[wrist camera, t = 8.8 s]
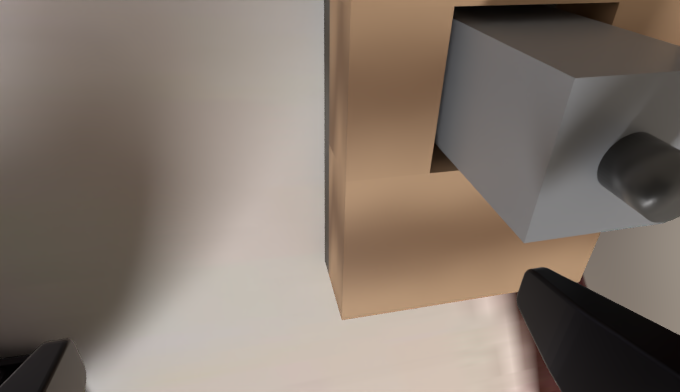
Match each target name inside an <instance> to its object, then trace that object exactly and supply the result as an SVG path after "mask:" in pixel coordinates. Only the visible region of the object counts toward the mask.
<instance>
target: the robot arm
mask: <svg viewBox="0 0 680 392" xmlns="http://www.w3.org/2000/svg"><path fill="white" fill-rule="evenodd" d="M517 305H518V308H519V310H520V312H521V314H522V316H523V318H524V320H525V322H526V325H527V327H528V329H529V331H530V333H531V335H532V337H533V339H534V341H535V343H536V345H537V347H538V349H539V351H540V354H541V356H542V358H543V360H544V362H545V364H546V366H547V367H548V369H549V371H550V373H551V375H552V376H553V378H554V380H555V382H556V383H557V385H558V387H559V388H560V390H561V391H562V392H680V335H678V334H676V333H674V332H672V331H670V330H668V329H666V328H664V327H662V326H661V325H659V324H657V323H654V322H653V321H651V320H649V319H646V318H645V317H643V316H641V315H639V314H637V313H635V312H633V311H631V310H629V309H627V308H625V307H623V306H621V305H619V304H617V303H615V302H613V301H611V300H609V299H607V298H605V297H603V296H602V295H599V294H598V293H596V292H593V291H592V290H590V289H588V288H586V287H584V286H582V285H580V284H578V283H576V282H574V281H572V280H570V279H568V278H566V277H564V276H562V275H560V274H558V273H556V272H554V271H553V270H551V269H548V268H546V267H539V268H533V269H528V270H527V271H526V272H525V273H524V276H523V279H522V282H521V285H520V288H519V291H518V294H517ZM85 385H86V370H85V366H84V364H83V361H82V359H81V357H80V354H79V352H78V350H77V347H76V345H75V343H74V341H73V340H72V339H68V338H66V339H59V340H52V341H47V342H45V343H43V344H42V345H40V346H39V347H38V348H37V349H36V350H35V351H34V352H33V353H32V354H30V355H24V356H17V357H11V358H4V359H0V392H85Z"/></svg>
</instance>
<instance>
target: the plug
mask: <svg viewBox="0 0 680 392" xmlns="http://www.w3.org/2000/svg"><path fill="white" fill-rule="evenodd" d="M434 143H435V144H436V145H437V146H438V147H439V148H440V149H441V151H442V152H443V153H444V154H445V155H446V156H447V157H448V158H449V160H450V161H451V162H452V163H453V164H454V165H455V166H456V167H457V169H458V170H459V171H460V172H461V173H462V174H463V175H464V176H465V178H466V179H467V180H468V181H469V182H470V183H471V184H472V185H473V187H474V188H475V189H476V190H477V191H478V192H479V193H480V194H481V195H482V197H483V198H484V199H485V200H486V201H487V202H488V203H489V204H490V206H491V207H492V208H493V209H494V210H495V211H496V212H497V213H498V215H499V216H500V217H501V218H502V219H503V220H504V221H505V222H506V224H507V225H508V226H509V227H510V228H511V229H512V230H513V231H514V233H515V234H516V235H517V236H518V237H519V238H520V239H521V240H522V242H523V243H529V242H536V241H543V240H550V239H557V238H564V237H571V236H578V235H585V234H592V233H599V232H605V231H612V230H619V229H626V228H633V227H640V226H647V225H653V224H660V223H665V222H667V221H670V220H673V219H675V218H677V217H679V216H680V46H678V45H675V44H671V43H668V42H665V41H662V40H658V39H655V38H652V37H649V36H645V35H642V34H639V33H636V32H632V31H629V30H626V29H623V28H619V27H616V26H613V25H610V24H606V23H603V22H600V21H597V20H593V19H590V18H587V17H583V16H580V15H577V14H574V13H570V12H567V11H564V10H561V9H557V8H554V7H551V6H548V5H544V4H529V5H488V6H454V13H453V19H452V26H451V33H450V40H449V46H448V53H447V60H446V66H445V73H444V80H443V87H442V93H441V100H440V107H439V114H438V120H437V127H436V134H435V141H434Z"/></svg>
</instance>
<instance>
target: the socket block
mask: <svg viewBox="0 0 680 392" xmlns="http://www.w3.org/2000/svg"><path fill="white" fill-rule="evenodd" d="M529 4H544V5H548V6H551V7H554V8H557V9H561V10H564V11H567V12H570V13H574V14H577V15H580V16H583V17H587V18H590V19H593V20H597V21H600V22H603V23H606V24H610V25H613V26H616V27H619V28H623V29H626V30H629V31H632V32H636V33H639V34H642V35H645V36H649V37H652V38H655V39H658V40H662V41H665V42H668V43H671V44H675V45H678V46H680V0H324V70H325V262H326V266H327V269H328V273H329V276H330V280H331V283H332V287H333V290H334V294H335V297H336V301H337V304H338V308H339V311H340V315H341V318H342V320H346V319H352V318H358V317H364V316H370V315H377V314H383V313H389V312H395V311H401V310H408V309H414V308H420V307H426V306H432V305H439V304H445V303H451V302H457V301H463V300H469V299H476V298H482V297H488V296H494V295H500V294H507V293H513V292H518V291H519V288H520V285H521V282H522V279H523V276H524V273H525V272H526V271H527V270H528V269H533V268H539V267H546V268H548V269H551V270H553V271H554V272H556V273H558V274H560V275H562V276H564V277H566V278H568V279H570V280H572V281H574V282H579V281H580V279H581V277H582V274H583V272H584V270H585V267H586V265H587V263H588V260H589V258H590V256H591V253H592V251H593V249H594V246H595V244H596V242H597V240H598V237H599V235H600V233H601V232H599V233H592V234H585V235H578V236H571V237H564V238H557V239H550V240H543V241H536V242H529V243H523V242H522V240H521V239H520V238H519V237H518V236H517V235H516V234H515V233H514V231H513V230H512V229H511V228H510V227H509V226H508V225H507V224H506V222H505V221H504V220H503V219H502V218H501V217H500V216H499V215H498V213H497V212H496V211H495V210H494V209H493V208H492V207H491V206H490V204H489V203H488V202H487V201H486V200H485V199H484V198H483V197H482V195H481V194H480V193H479V192H478V191H477V190H476V189H475V188H474V187H473V185H472V184H471V183H470V182H469V181H468V180H467V179H466V178H465V176H464V175H463V174H462V173H461V172H460V171H459V170H458V169H457V167H456V166H455V165H454V164H453V163H452V162H451V161H450V160H449V158H448V157H447V156H446V155H445V154H444V153H443V152H442V151H441V149H440V148H439V147H438V146H437V145H436V144H435V143H434V141H435V134H436V127H437V120H438V114H439V107H440V100H441V93H442V87H443V80H444V73H445V66H446V60H447V53H448V46H449V40H450V33H451V26H452V19H453V13H454V6H488V5H529Z"/></svg>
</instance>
